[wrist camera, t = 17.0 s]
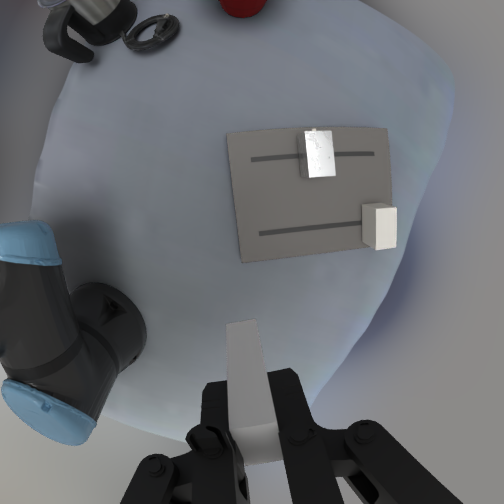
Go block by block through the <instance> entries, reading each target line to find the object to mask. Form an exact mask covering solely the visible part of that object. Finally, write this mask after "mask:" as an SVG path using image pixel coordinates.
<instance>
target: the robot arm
mask: <svg viewBox="0 0 504 504" xmlns="http://www.w3.org/2000/svg"><path fill="white" fill-rule="evenodd" d="M61 264H62V259H61V258H60V257H59V254H58V250H57V246H56V242H55V238H54V234H53V231H52V229H51V227H50V226H49V225H48V224H47V223H45V222H43V221H40V220H30V221H19V222H10V223H3V224H0V362H1V364H2V366H3V368H4V370H5V372H6V373H7V376H8V378H7V379H5V380H4V381H3V385H2V387H1V391H2V396H3V399H4V400H5V402H6V403H7V405H8V406H9V407H10V409H11V410H12V411H13V412H14V413H15V414H16V415H17V416H18V417H19V418H20V419H21V420H22V421H23V422H25V423H26V424H27V425H29V426H30V427H31V428H33V429H34V430H35V431H37V432H39V433H40V434H42V435H44V436H46V437H47V438H49V439H52V440H54V441H56V442H59V443H62V444H66V445H71V446H77V445H81V444H83V443H84V442H86V441H87V439H88V438H89V436H90V434H91V432H92V430H93V429H94V428H95V427H96V425H97V420H98V418H99V415H100V413H101V411H102V409H103V406H104V404H105V402H106V399H107V397H108V395H109V393H110V391H111V388H112V386H113V384H114V382H115V380H116V378H117V376H118V374H119V373H121V372H122V371H123V370H124V369H126V368H127V367H128V366H129V365H131V364H132V363H133V362H135V361H136V360H137V358H138V357H139V356H140V354H141V352H142V350H143V348H144V345H145V342H146V327H145V323H144V321H143V318H142V316H141V314H140V312H139V311H138V309H137V308H136V306H135V305H134V304H133V303H132V302H131V301H130V299H128V298H127V297H126V296H125V295H124V294H123V293H121V292H120V291H118V290H116V289H115V288H113V287H111V286H108V285H105V284H101V283H87V284H84V285H82V286H80V287H78V288H77V289H76V290H75V291H74V292H72V293H71V294H70V295H69V293H68V289H67V286H66V282H65V278H64V275H63V271H62V266H61ZM226 350H227V380H225V381H218V382H211V383H207V385H206V387H205V388H204V390H203V392H202V405H201V409H202V410H201V422H200V424H199V425H197V426H195V427H193V428H192V429H191V430H190V431H189V432H188V433H187V436H186V439H185V440H186V441H187V443H188V444H189V446H190V447H191V449H192V450H191V451H190V452H188V453H186V454H183V455H180V456H177V457H173V458H168V457H167V456H165V455H163V454H152V455H149V456H147V457H145V458H144V459H143V460H142V461H141V462H140V464H139V466H138V468H137V470H136V472H135V474H134V476H133V478H132V480H131V482H130V484H129V486H128V488H127V490H126V492H125V494H124V497H123V498H122V500H121V502H120V504H250V497H249V488H248V479H247V476H246V473H245V470H244V463H245V465H246V466H248V465H255V464H262V463H268V462H274V461H279V460H284V465H285V469H286V474H287V478H288V483H289V488H290V493H291V498H292V502H293V504H344V501H343V498H342V495H341V493H340V489H339V486H338V484H337V481H336V478H335V477H343V478H344V479H345V480H346V482H347V483H348V484H349V486H350V487H351V488H352V490H353V491H354V492H355V493H356V495H357V496H358V497H359V498H360V500H361V501H362V502H363V503H364V504H463V503H462V502H461V501H460V500H459V499H458V498H457V497H455V496H454V495H453V494H452V493H451V492H450V491H449V490H448V489H447V488H445V487H444V485H442V484H441V483H440V482H439V481H438V480H437V479H436V478H435V477H434V476H433V475H432V474H431V473H430V472H429V471H428V470H427V469H425V468H424V467H423V466H422V465H421V464H420V463H419V462H418V461H417V460H416V459H415V458H414V457H413V456H412V455H411V454H410V453H409V452H408V451H407V450H406V449H405V448H404V447H403V446H402V445H401V444H400V443H399V442H398V441H396V440H395V438H394V437H393V436H392V435H391V434H390V433H389V432H388V431H387V430H385V429H384V427H382V425H380V424H379V423H377V422H376V421H372V420H360V421H358V422H355V423H353V424H352V425H351V426H349V427H348V429H340V430H332V429H331V430H330V429H325V428H322V427H321V426H319V425H317V424H316V423H315V422H314V420H313V418H312V416H311V412H310V409H309V406H308V404H307V401H306V398H305V395H304V392H303V389H302V386H301V383H300V380H299V377H298V374H296V373H295V372H294V371H293V370H292V369H291V368H287V369H282V370H277V371H272V372H266V367H265V362H264V357H263V352H262V347H261V342H260V337H259V333H258V328H257V323H256V319H251V320H245V321H240V322H235V323H229V324H226Z"/></svg>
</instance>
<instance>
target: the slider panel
mask: <svg viewBox="0 0 504 504" xmlns="http://www.w3.org/2000/svg"><path fill="white" fill-rule="evenodd" d="M304 131H332V140H333V150H334V161H335V173H336V176H325V177H310V178H309V177H302V176H301V173H300V162H299V152H298V143H297V135H299V134H300V133H302V132H304ZM226 135H227V144H228V153H229V162H230V170H231V179H232V187H233V196H234V204H235V212H236V220H237V228H238V236H239V244H240V252H241V260H242V263H247V262H256V261H264V260H272V259H280V258H288V257H296V256H304V255H312V254H320V253H328V252H336V251H343V250H351V249H359V248H366V247H370V246H368V245H367V244H365V243H364V242H362V204H371V203H384V204H387V205H391V206H392V183H391V165H390V152H389V141H388V131H387V129H385V128H365V127H305V128H284V129H269V130H257V131H247V132H237V133H229V134H226Z"/></svg>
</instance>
